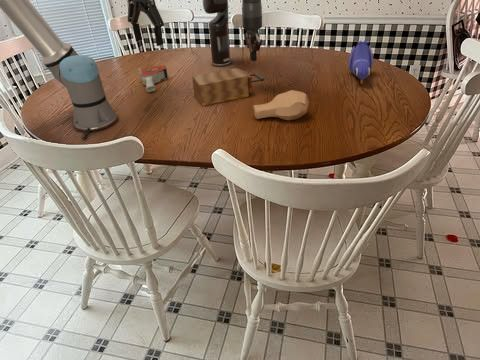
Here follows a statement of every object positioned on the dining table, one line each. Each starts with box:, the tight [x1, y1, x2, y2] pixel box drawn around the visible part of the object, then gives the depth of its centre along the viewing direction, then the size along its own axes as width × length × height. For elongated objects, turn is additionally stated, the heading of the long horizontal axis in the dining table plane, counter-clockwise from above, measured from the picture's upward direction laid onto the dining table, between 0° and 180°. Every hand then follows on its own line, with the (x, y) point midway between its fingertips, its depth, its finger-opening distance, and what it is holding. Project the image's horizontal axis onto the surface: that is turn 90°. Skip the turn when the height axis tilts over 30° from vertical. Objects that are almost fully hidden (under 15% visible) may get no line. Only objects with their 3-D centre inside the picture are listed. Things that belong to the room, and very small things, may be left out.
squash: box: [252, 89, 310, 121], centre depth 127 cm, size 11×20×9 cm, turn 92°
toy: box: [347, 40, 374, 85], centre depth 151 cm, size 10×17×25 cm
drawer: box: [240, 69, 265, 94], centre depth 146 cm, size 24×10×6 cm, turn 112°
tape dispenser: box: [137, 64, 169, 93], centre depth 162 cm, size 18×5×20 cm
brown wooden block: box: [191, 67, 250, 107], centre depth 145 cm, size 20×11×8 cm, turn 112°
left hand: (149, 42), depth 146 cm, fingers open, 13 cm apart
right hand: (253, 60), depth 144 cm, fingers closed
